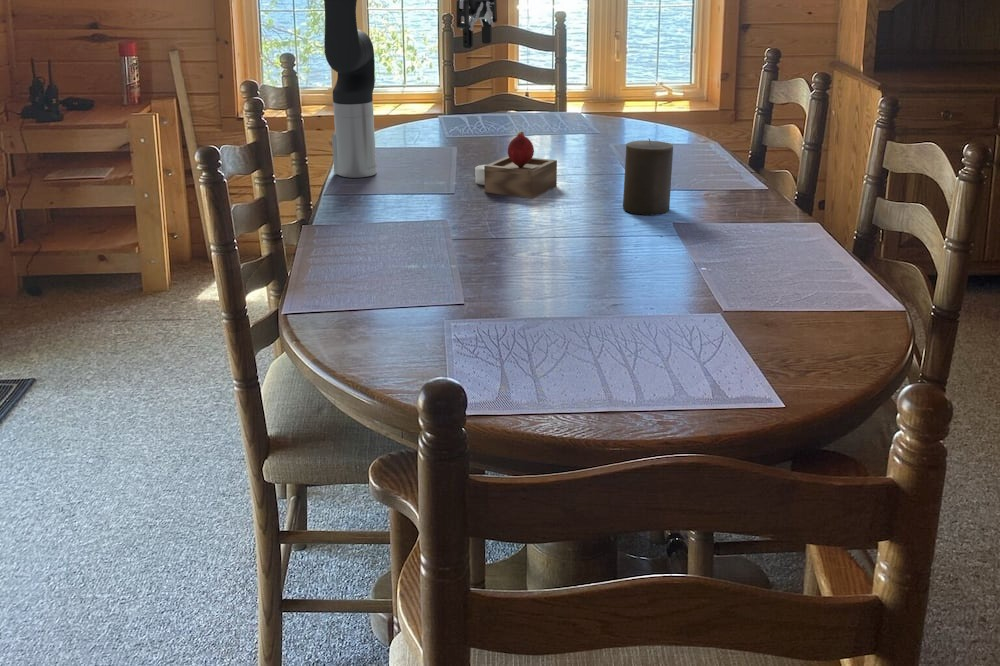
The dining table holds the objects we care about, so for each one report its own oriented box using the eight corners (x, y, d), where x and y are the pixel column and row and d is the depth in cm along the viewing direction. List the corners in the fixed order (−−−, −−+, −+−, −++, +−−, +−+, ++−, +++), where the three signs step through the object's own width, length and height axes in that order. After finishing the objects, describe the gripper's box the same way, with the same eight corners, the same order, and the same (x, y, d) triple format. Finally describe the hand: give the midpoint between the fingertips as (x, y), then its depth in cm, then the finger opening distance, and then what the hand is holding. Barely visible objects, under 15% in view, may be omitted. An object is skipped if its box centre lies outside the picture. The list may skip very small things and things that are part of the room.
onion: (531, 170, 234) (531, 134, 231) (505, 169, 235) (505, 133, 232) (535, 164, 239) (535, 129, 236) (510, 164, 240) (510, 128, 237)
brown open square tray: (484, 192, 236) (484, 165, 234) (509, 180, 246) (509, 155, 244) (532, 198, 231) (533, 171, 229) (556, 186, 241) (556, 160, 239)
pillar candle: (640, 218, 216) (644, 144, 210) (613, 206, 224) (617, 136, 218) (679, 212, 220) (684, 140, 214) (651, 201, 228) (655, 132, 222)
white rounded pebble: (470, 183, 244) (470, 168, 243) (483, 178, 249) (483, 163, 248) (493, 186, 242) (493, 171, 240) (506, 181, 247) (505, 166, 245)
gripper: (477, -33, 240) (478, 41, 246) (445, -29, 228) (447, 48, 234) (506, -32, 237) (507, 43, 243) (475, -29, 225) (476, 50, 231)
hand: (477, 45), depth 238 cm, fingers open, 8 cm apart
